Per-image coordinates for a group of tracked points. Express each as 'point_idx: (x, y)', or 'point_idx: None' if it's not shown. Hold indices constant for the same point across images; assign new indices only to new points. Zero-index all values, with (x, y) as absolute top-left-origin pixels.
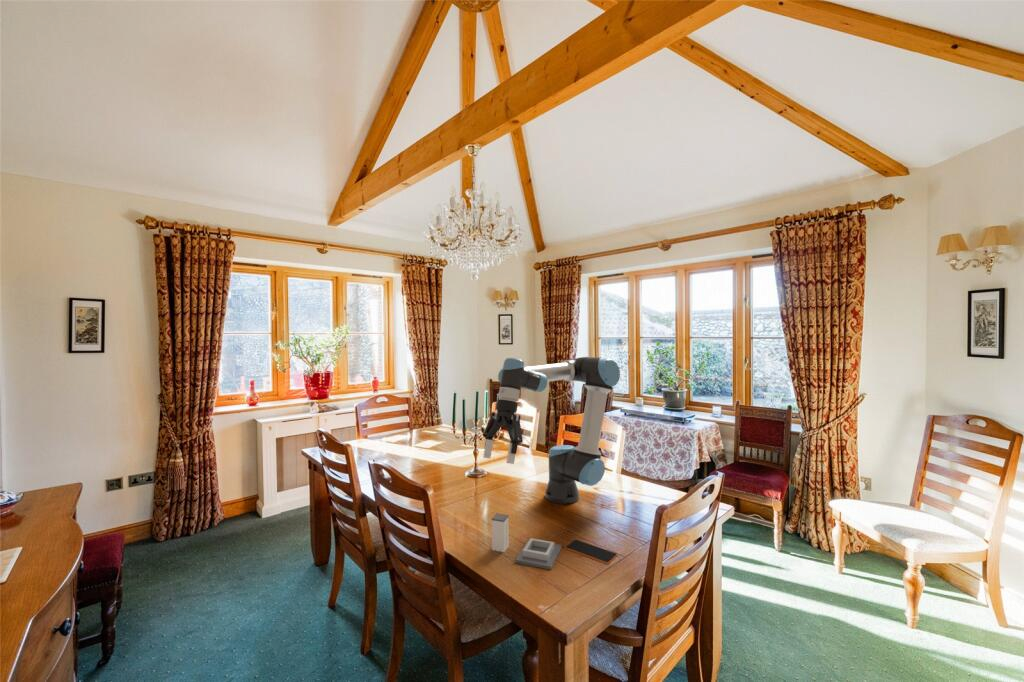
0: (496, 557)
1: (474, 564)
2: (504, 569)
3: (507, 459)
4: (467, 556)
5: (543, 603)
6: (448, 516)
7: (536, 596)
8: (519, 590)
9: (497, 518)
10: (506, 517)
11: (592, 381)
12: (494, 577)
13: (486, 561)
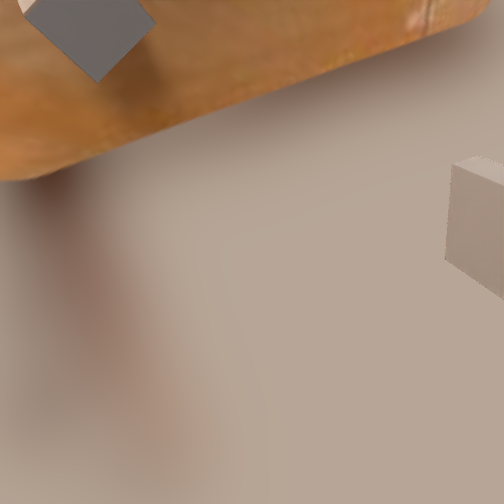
0: None
1: (139, 124)
2: (222, 34)
3: (486, 277)
4: (72, 133)
5: (411, 6)
6: None
7: (383, 8)
8: (334, 42)
9: (112, 49)
10: None
11: None
12: (242, 86)
13: (141, 77)
